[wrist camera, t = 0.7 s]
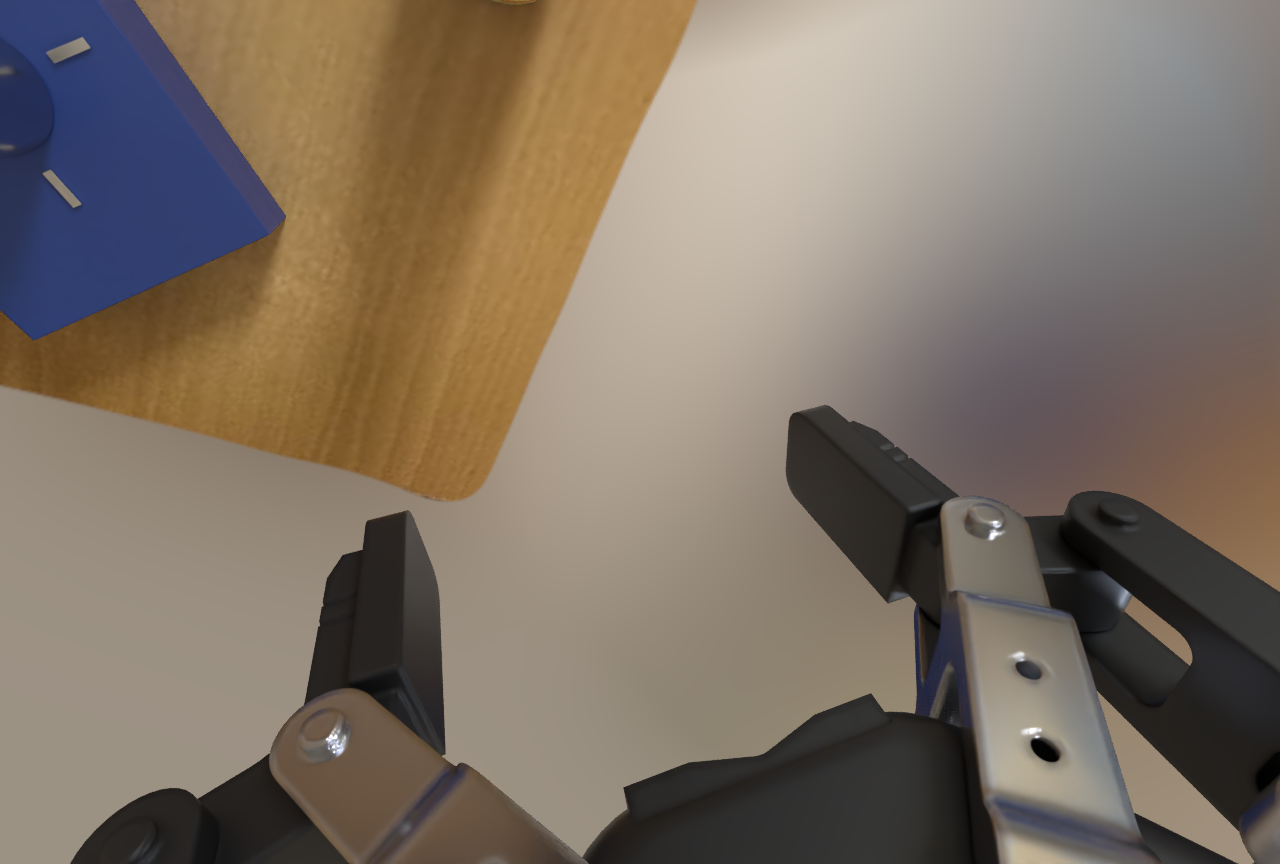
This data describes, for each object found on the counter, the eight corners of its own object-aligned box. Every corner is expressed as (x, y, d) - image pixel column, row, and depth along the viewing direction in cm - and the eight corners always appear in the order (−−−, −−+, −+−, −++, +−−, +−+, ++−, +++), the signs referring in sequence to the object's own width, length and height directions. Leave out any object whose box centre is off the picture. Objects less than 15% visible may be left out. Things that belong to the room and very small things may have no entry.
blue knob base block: (-346, -106, 20) (-507, -144, 16) (-26, -229, 20) (-117, -290, 17) (77, 311, 29) (31, 342, 25) (287, 216, 29) (269, 235, 26)
